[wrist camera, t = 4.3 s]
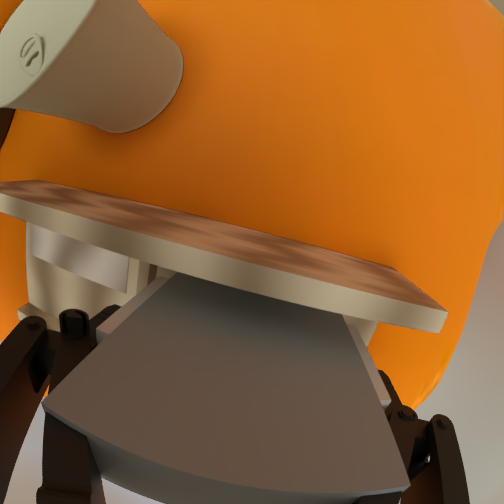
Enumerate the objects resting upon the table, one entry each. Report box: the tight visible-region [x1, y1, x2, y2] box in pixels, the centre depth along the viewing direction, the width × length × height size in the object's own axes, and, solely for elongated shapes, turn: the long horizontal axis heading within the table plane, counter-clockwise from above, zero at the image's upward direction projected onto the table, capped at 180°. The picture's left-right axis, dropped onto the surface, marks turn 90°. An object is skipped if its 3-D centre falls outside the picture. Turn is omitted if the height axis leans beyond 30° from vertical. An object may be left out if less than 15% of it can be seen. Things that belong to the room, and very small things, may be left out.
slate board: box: [41, 272, 411, 504], centre depth 12 cm, size 10×3×14 cm, turn 76°
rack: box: [0, 180, 449, 348], centre depth 17 cm, size 32×14×8 cm, turn 76°
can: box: [0, 0, 183, 133], centre depth 11 cm, size 9×9×12 cm
